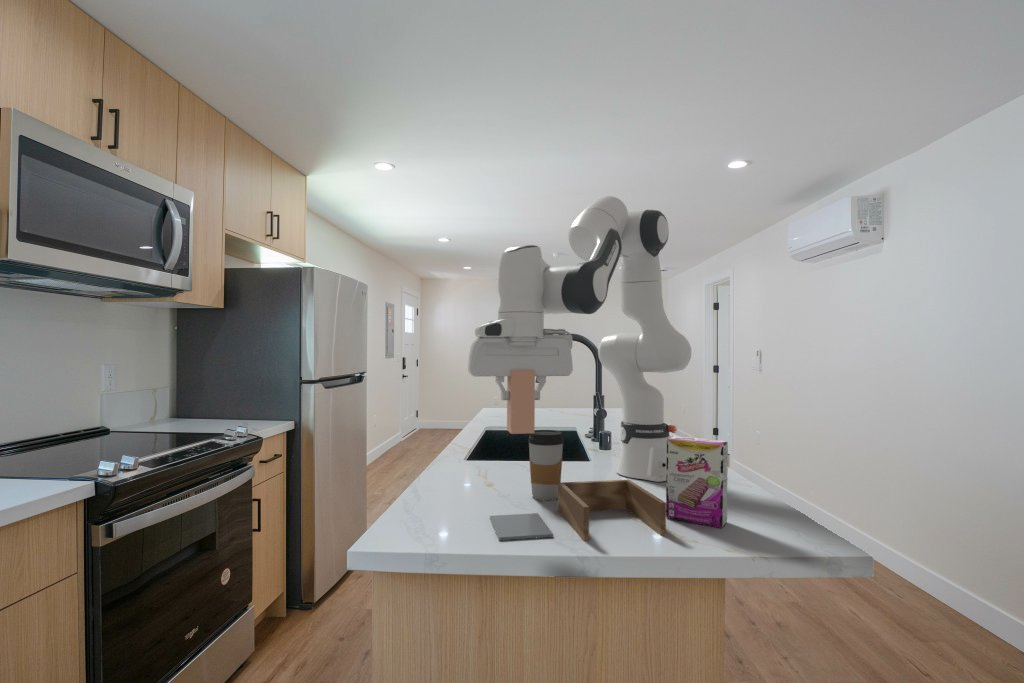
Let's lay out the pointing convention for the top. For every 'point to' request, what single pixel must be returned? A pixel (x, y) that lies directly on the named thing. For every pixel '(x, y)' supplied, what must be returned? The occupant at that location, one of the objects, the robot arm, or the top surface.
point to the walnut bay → (608, 503)
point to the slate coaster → (520, 526)
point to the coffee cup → (545, 463)
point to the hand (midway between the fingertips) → (520, 399)
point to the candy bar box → (697, 480)
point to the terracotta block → (521, 402)
